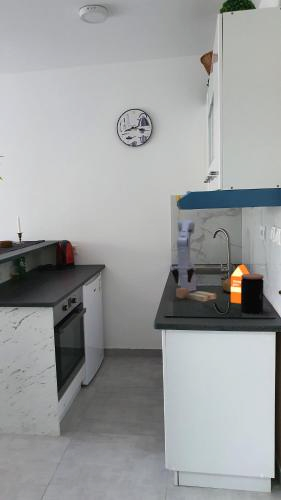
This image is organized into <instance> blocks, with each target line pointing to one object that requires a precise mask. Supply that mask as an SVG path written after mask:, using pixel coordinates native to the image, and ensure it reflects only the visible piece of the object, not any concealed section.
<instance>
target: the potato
mask: <svg viewBox="0 0 281 500" xmlns="http://www.w3.org/2000/svg"><path fill="white" fill-rule="evenodd" d="M221 286H222V290H224V291H225V292H227V293H231V277H228V278H226V279H225V280H223V281H222V283H221Z"/></svg>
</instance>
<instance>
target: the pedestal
mask: <svg viewBox="0 0 281 500" xmlns="http://www.w3.org/2000/svg"><path fill="white" fill-rule="evenodd" d="M186 299H187V300H193V301H196V302H197V301H198V302H207V301H212V300H215V299H217V293H213V292H207V291H203V290H198V291H197V290H196V291H192V292H188V294H186Z"/></svg>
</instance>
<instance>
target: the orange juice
mask: <svg viewBox="0 0 281 500" xmlns="http://www.w3.org/2000/svg"><path fill="white" fill-rule="evenodd" d="M243 274H250V272H249V271H248V269H247V267H246V266H245V265H244V264H243V263H242V264H241V265H237V267H236V269H235V270H234V272H232V274H231V276H230V278H231V292H230V303H233V304H234V303H235V304H241V280H242V277H241V275H243Z"/></svg>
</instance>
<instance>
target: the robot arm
mask: <svg viewBox="0 0 281 500" xmlns="http://www.w3.org/2000/svg"><path fill="white" fill-rule="evenodd" d="M195 227H196V226H195V220H194V219H179V220H178V221H177V228H178V232H179V234H178V237H177V238H176V247H177V265H175V266H170V271H171V273H172V275H173V278H174V281H175V282H174V283H175V284H179V277H180V288H187V289H188V293H191V292H195V291H197V290H198V289H197V288H196V286H197V283H196V282H197V280H196V277H195V273H196V272H195V271H196V265H195V263H194V262H193V261H191V236H192V235H193V234H195Z"/></svg>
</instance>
